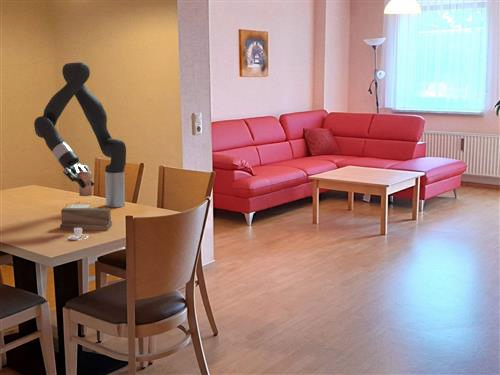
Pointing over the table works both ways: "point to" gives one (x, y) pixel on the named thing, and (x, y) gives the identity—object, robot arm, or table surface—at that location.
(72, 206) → the baseboard molding
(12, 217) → the table surface
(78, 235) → the teacup and saucer
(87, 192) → the pink domed cylinder
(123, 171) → the robot arm
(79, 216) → the ridge
